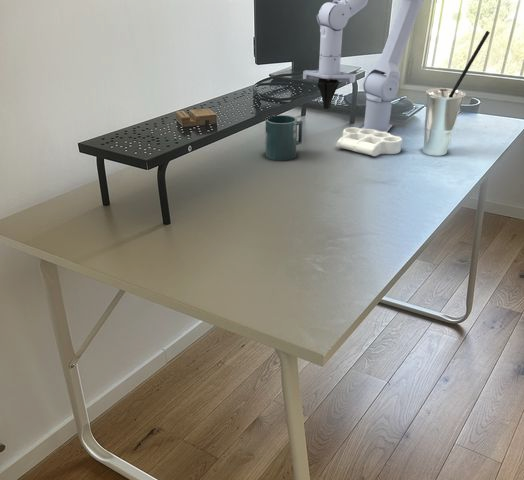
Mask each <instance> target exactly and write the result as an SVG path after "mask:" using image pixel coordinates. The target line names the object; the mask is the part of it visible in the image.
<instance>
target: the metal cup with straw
mask: <svg viewBox="0 0 524 480" xmlns="http://www.w3.org/2000/svg"><path fill="white" fill-rule="evenodd" d="M490 34H491V32H490V31H488V30H486V31H485V33H484V35H483V36H482V38H481V39H480V42H479V43H478V45H477V47H476V49H475V50H474V52H473V54H472V55H471V56H470V59H469V60H468V62H467V64H466V66H465V67H464V69H463V70H462V73H461V74H460V76H459V78H458V79H457V81H456V83H455V85H454V86H453V88H447V87H445V88H444V87H437V88H430V89H427V90H426V91H425V94H426V105H425V118H424V119H425V120H424V136H423V149H422V152H423V153H424V154H425V155H429V156H434V157H435V156H436V157H438V156H439V157H441V156H445V155H446V154H447V153H448V149H449V145H450V143H451V139H452V135H453V132H454V129H455V126H456V123H457V119H458V116H459V113H460V111H461V110H460V109H461V106H462V103H463V99H464V97H465V96H467V94H466V92H465V91H463V90H459V86H460V85H461V84H462V81H463V79H464V78H465V76H466V74H467V73H468V71H469V69H470V68H471V66H472V64H473V63H474V61H475V59H476V57H477V56H478V55H479V53H480V50H481V49H482V47H483V46H484V44H485V42H486V41H487V38H488V37H489V35H490Z"/></svg>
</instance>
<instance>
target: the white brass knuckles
mask: <svg viewBox="0 0 524 480" xmlns="http://www.w3.org/2000/svg"><path fill="white" fill-rule="evenodd" d="M361 128H362V127H361ZM361 128H360V127H357V126H350V127H345V128H344V129H343V130H342V136H341V137H340V138H338V140H337V141H336V147H337V148H339V149H344V150H348V151H352V152H355V153H360V154H364V155H369V156H371V157H377V156H379V155H397V154H400V153H401V150H402V144H403V137H401V136H398V135H394V134H392V133H390V132H382V131H377V130H374V129H361Z"/></svg>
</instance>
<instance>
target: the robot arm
mask: <svg viewBox="0 0 524 480" xmlns="http://www.w3.org/2000/svg"><path fill="white" fill-rule="evenodd" d="M368 2H369V0H332V2H329V1H328V2H325V3H323V4H322V5H321V7H320V9H319V11H318V14H316V22H317V24H318V25H319V33H320V39H319V40H320V42H319V61H318V70H311V69H310V70H307V69H305V70H303V72H302V79H303V80H318V81H317V83H316V84H317V87H318V90H319V93H320V95H321V99H322V104H323V105H322V106H323V110H329V109H331V106H332V103H333V99H334V97H335V94H336V92H337V89H338V87H339V85H340V83H341V82H343V83H349V84H354V83H355V82H356V77H357V76H356V73H349V72H344V71H341V58H342V44H343V43H342V42H343V30H344V29H345V28H346V27H347V24H348V22H349V20H350V18H352V17H353V16H354V15H356V14H357V13H358V12H360V11H361V10H362V9H364V8H365V7H366V6H367V5H368ZM423 2H424V0H401V2H400V5H399V7H398V11H397V13H396V16H395V18H394V21H393V24H392V27H391V28H390V32H389V34H388V37H387V39H386V42H385V45H384V47H383V50H382V53H381V55H380V58H379V60H378V61H376V62H375V63H373V64H372V66H371V67H370V70H369V72H368V73H367V74H366V75H365V76H364V79H363V82H362V88H363V92H364V94H365V98H366V101H365V102H366V103H365V113H364V122H363V125H362V127H361V129H374V130H377V131H382V132H387V133H389V132H388V131H390V129H392V127H393V124H390V123H391V113H392V107H393V106H392V105H393V104H392V101H394V98H395V97H396V96H397V93H398V91H399V85H400V84H399V83H400V79H401V77H402V74H401V72H400V70H399V65H400V61H401V59H402V57H403V54H404V51H405V48H406V46H407V43H408V41H409V38H410V36H411V33H412V31H413V29H414V26H415V23H416V20H417V18H418V16H419V13H420V10H421V8H422V5H423Z"/></svg>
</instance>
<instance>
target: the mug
mask: <svg viewBox="0 0 524 480" xmlns="http://www.w3.org/2000/svg"><path fill="white" fill-rule="evenodd" d="M273 116H274V117H272V118H270V119H268V120H266V119H265V157H266V158H267V159H269V160H272V161H281V162H282V161H284V162H285V161H290V160H293V159H295V158H296V156H297V146H298V145H301V144H302V143H303V120H298V118H297V117H295V116H293V115H287V114H277V116H275V115H273ZM297 135H298V136H297ZM297 137H298V139H297Z"/></svg>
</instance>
